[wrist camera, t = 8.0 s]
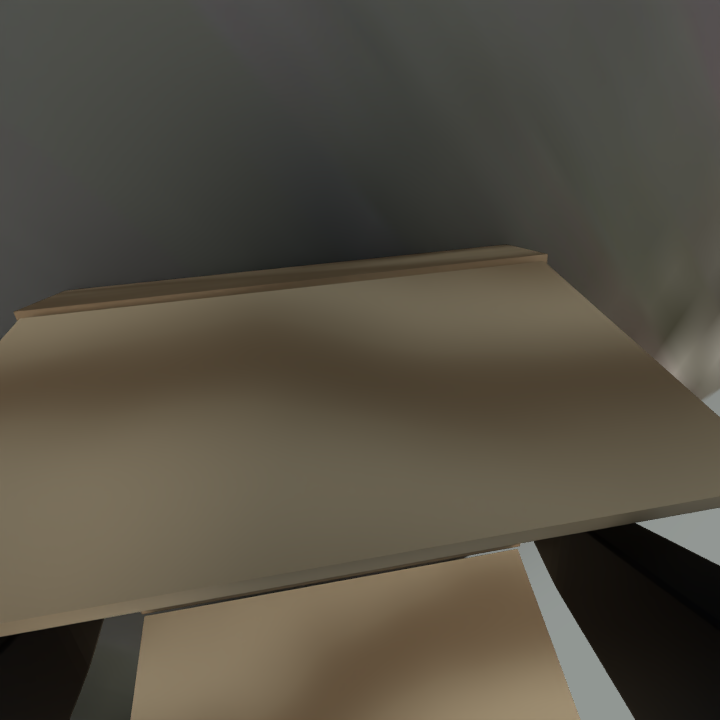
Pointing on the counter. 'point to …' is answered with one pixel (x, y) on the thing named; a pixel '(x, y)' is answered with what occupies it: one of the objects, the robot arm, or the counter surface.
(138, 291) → the carton
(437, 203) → the counter surface
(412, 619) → the flap far
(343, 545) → the flap near
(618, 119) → the counter surface
